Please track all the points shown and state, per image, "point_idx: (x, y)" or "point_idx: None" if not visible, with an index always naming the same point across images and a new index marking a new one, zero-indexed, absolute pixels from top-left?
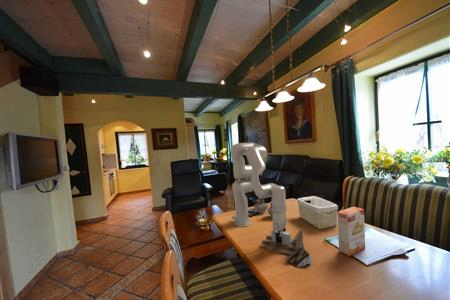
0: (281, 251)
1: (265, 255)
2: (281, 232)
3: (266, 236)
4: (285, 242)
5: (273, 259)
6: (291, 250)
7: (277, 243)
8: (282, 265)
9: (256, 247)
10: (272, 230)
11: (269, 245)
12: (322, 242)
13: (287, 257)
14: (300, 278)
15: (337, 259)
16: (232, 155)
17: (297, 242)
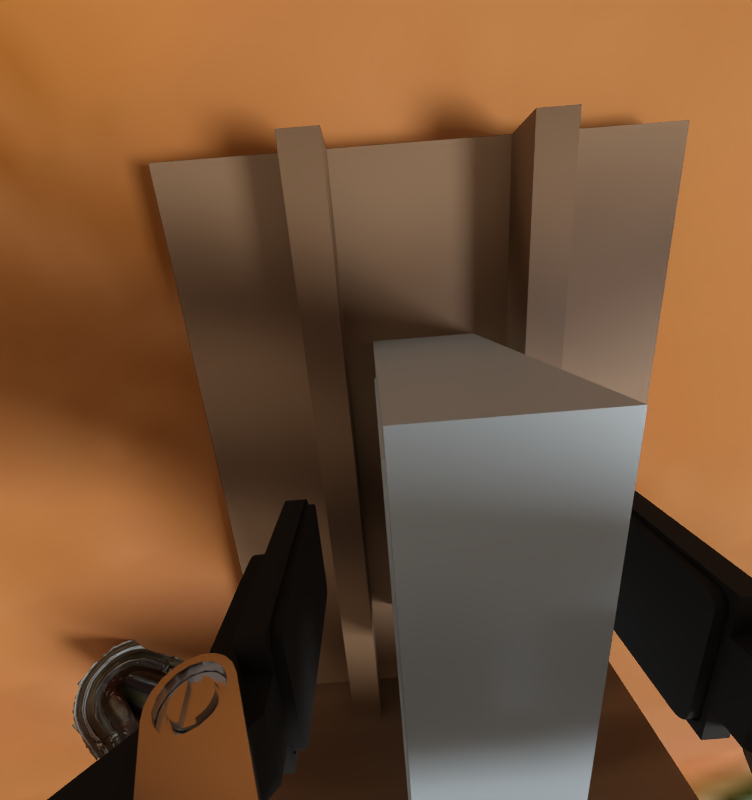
0: (240, 557)
1: (43, 384)
2: (480, 748)
3: (530, 121)
4: (393, 618)
5: (53, 512)
6: (342, 640)
7: (343, 480)
8: (38, 628)
9: (122, 107)
10: (493, 444)
11: (278, 337)
12: (707, 771)
13: (74, 724)
14: (8, 782)
15: None
16: None
17: None
